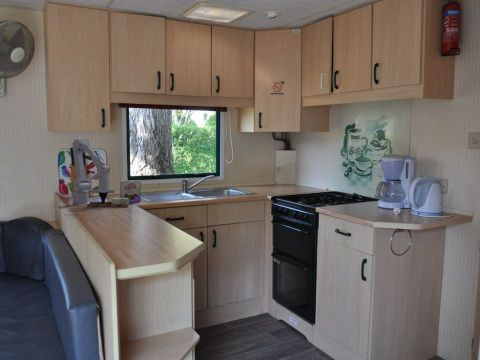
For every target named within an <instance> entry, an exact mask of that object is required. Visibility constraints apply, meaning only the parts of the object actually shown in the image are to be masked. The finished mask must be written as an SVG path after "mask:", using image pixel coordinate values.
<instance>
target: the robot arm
mask: <svg viewBox="0 0 480 360" xmlns="http://www.w3.org/2000/svg"><path fill="white" fill-rule="evenodd" d="M71 145H72V149H73V150H72V154H73V159H74V167H75V172H76V174H75V175H76V178H75V180H74V181H73V182H74V183H73V189H74V192H73V193H72V204H74V205H77V204H78V205H86V204H89V192H90V190H91V192H90V193H91V194H98V196H99V198H100V202H102V204H105V202H106V198H107V196H108V195H109V194H116V189H109V173H110V171H111V167H110V166H109V164H106V163H105V162H104V161H103V159H102V157H101V156H100V155H97V154H96V152H95V151H94V149H93V147H92V143H91V141H90V139H87V138H86V139H77V138H76V139H74V140H73V141H72V144H71ZM85 152H86V153H87V155H88V156H89V157H90V158H91V162H92V163H93V165H94V166H95V168H96V173H97V177H98V189H91V188H92V187H91V186H92V185H91V183H90V179H89V178H87V177H86V171H85V164H84V158H83V154H84V153H85Z"/></svg>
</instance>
